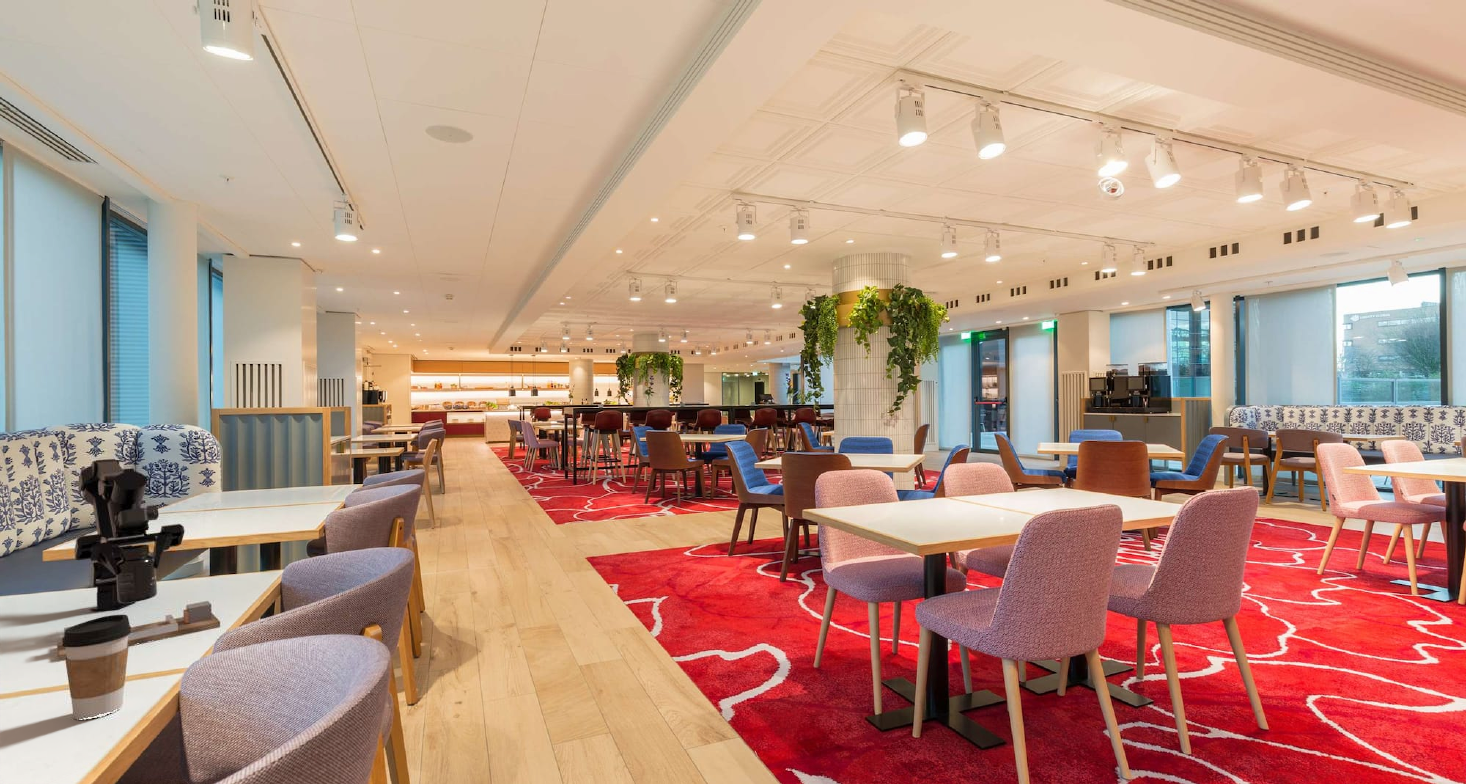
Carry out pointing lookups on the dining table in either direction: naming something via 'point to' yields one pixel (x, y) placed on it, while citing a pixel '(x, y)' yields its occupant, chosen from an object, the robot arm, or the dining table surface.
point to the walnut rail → (168, 626)
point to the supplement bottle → (136, 575)
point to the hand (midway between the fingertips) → (137, 570)
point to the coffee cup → (97, 664)
